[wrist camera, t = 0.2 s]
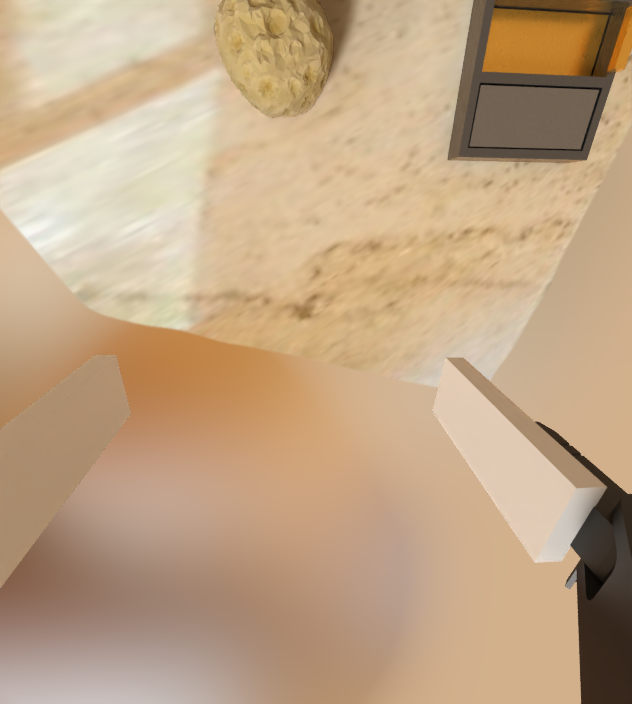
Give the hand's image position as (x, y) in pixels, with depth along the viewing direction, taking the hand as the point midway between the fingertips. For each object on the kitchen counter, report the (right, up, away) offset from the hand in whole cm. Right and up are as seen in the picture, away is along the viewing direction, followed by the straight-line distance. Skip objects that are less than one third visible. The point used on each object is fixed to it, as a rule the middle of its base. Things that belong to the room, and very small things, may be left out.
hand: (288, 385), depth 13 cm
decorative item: (-2, +29, +17) cm, 34 cm away
